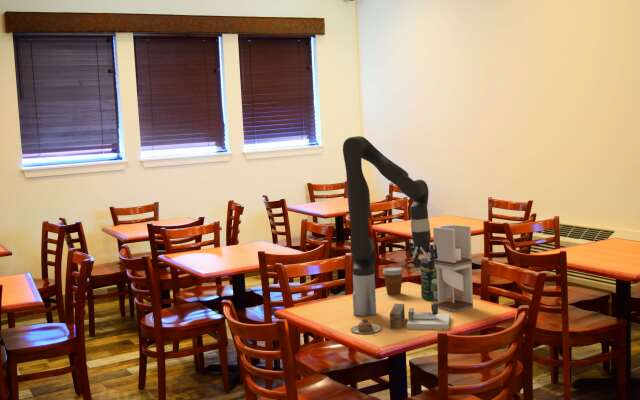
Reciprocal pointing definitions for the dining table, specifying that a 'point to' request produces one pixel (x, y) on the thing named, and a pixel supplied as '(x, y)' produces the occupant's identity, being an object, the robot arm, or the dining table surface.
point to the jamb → (397, 316)
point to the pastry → (365, 327)
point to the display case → (453, 267)
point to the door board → (428, 322)
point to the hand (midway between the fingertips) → (424, 268)
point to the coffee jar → (428, 281)
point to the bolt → (427, 313)
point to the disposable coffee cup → (393, 280)
